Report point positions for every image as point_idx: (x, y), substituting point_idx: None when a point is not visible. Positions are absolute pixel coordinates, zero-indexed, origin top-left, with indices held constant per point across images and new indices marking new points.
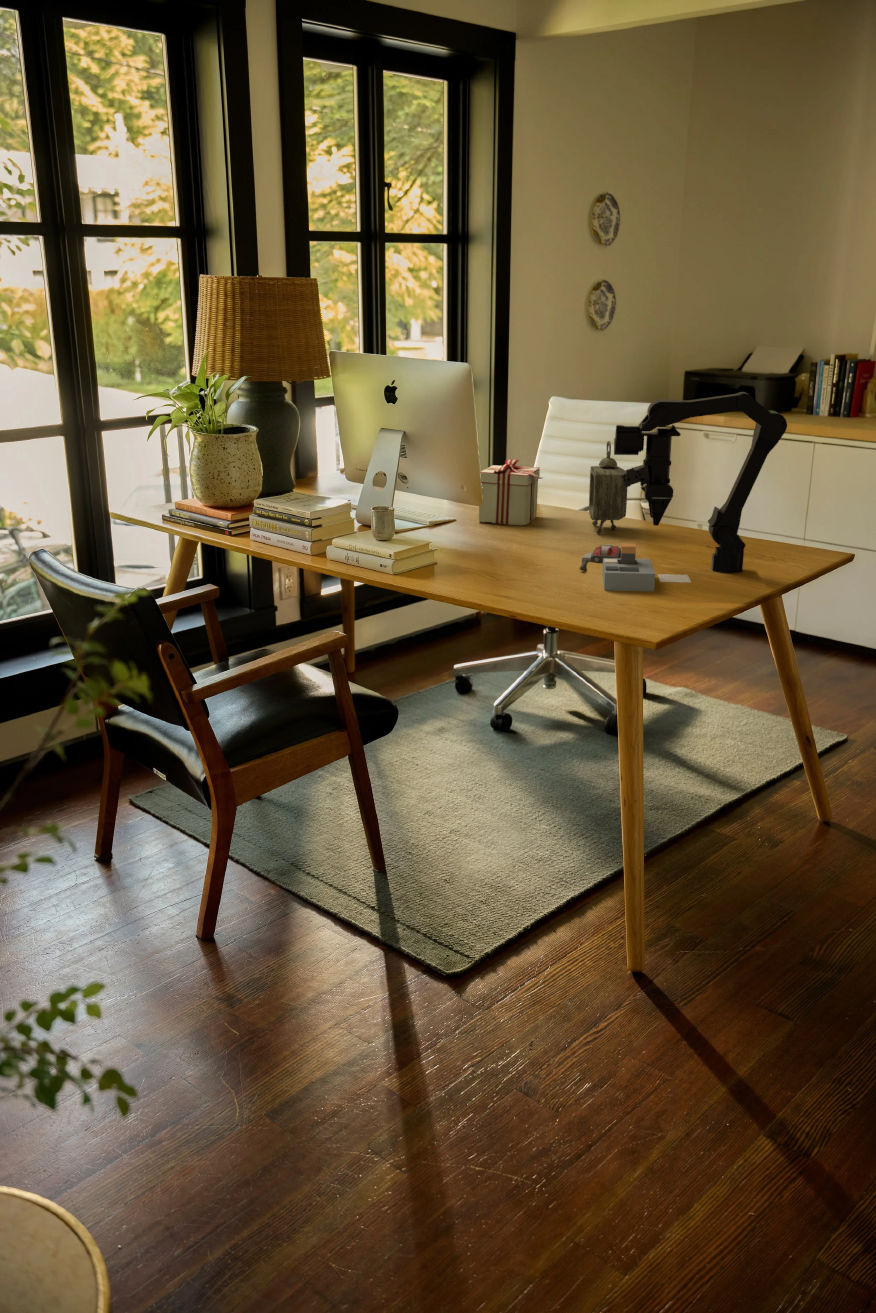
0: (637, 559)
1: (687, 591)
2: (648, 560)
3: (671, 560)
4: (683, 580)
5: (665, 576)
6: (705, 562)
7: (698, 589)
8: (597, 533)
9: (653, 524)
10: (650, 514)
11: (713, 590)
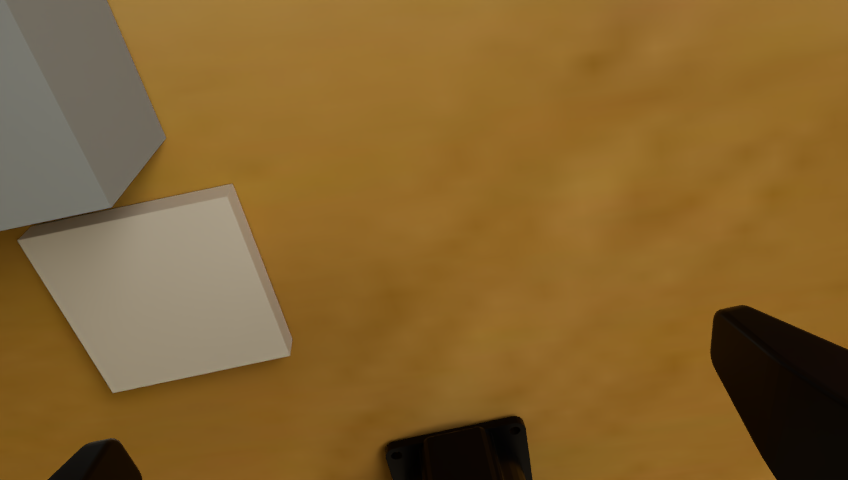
0: (17, 95)
1: (4, 374)
2: (39, 199)
3: (747, 199)
4: (136, 354)
5: (186, 250)
6: (698, 364)
7: (85, 411)
8: None
9: (81, 448)
10: (745, 335)
11: None
